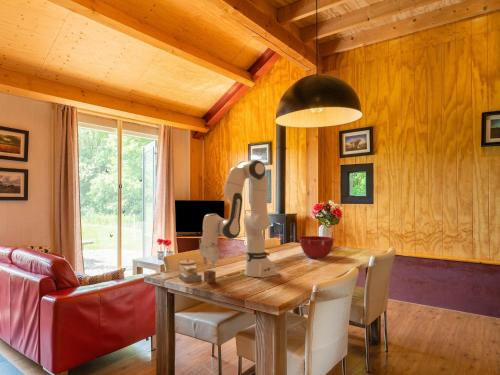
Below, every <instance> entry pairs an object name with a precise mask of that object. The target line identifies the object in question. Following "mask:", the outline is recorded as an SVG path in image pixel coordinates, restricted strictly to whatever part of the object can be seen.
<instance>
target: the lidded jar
mask: <svg viewBox="0 0 500 375" xmlns="http://www.w3.org/2000/svg"><path fill="white" fill-rule="evenodd" d="M187 266H195V267H197V260H194V259H189V258H186V259H184V260H180V261H179V262H178V268H179V272H180V273H184V267H187Z"/></svg>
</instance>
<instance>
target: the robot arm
mask: <svg viewBox="0 0 500 375" xmlns="http://www.w3.org/2000/svg"><path fill="white" fill-rule="evenodd" d="M247 179H249V180H250V188H249V198H248V202H249V207H250V211H249V212H247V213H246V214H245V215H244V217H243V224H244V227H245V228H244V229H245V233H246V234H245V235H246V255H245V258H246V263H245V269H244V272H243V273H244V274H243V275H244V276H246V277H251V278H252V277H253V278H268V277H271V276H276V275H280V271H279V270H276V264H275V263H274V261H272V260H270V258H268V257H269V256H270V255H271V253H270V252H266V250H265V249H266V248H265V246H266V245H265V242H266V241H265V236H264V233H263V231H265V230H267V229H268V228H269V227H270V223H271V220H270V218H269V214H268V207H267V206H268V204H267V202H268V190H269V188H268V186H269V185H268V177H267V175H266V168H265V164H264V162H262V161H261V160H257V159H253V160H252V159H251V160H250V159H249V160H248V159H247V160H245V161H241V162H239V163H237V165H236V166H233V167H231V169H230V170H229V172H228V174H227V177H226V180H225V183H224V188H223V193H224V196H225V197H226V199H228V200H229V204H230V209H229V217H228V219H227V218H226V219H225V218H223V217H221V216H220V215H218V213H207V214H205V215H204V217H203V220H202V235H201V236H202V237H201V238H200V239H198V240H199V241H198V243H199V255H200V256H201V257H202V260H203V265H205V266H207V265H208V260H210V264H209V268H211V269H214V268H215V264H216V262H218V261H219V260H220V248H219V247H218V239H219V236H222V237H225V238H228V239H230V240H233V239H235V238H238V236H239V234H240V232H241V214H242V209H243V208H242V207H243V190H244V186H245V181H246V180H247Z"/></svg>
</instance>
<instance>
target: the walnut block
mask: <svg viewBox="0 0 500 375" xmlns="http://www.w3.org/2000/svg"><path fill="white" fill-rule="evenodd" d="M216 275H217V274H216V271H215V270H214V269H209V270H204V271H203V282H204V281H205V282H204V283H206V282H207V283H206V284H210V283H209V282H214V283H216Z"/></svg>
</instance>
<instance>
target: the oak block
mask: <svg viewBox="0 0 500 375" xmlns="http://www.w3.org/2000/svg"><path fill="white" fill-rule="evenodd" d="M197 273H198V267H197V266H196V267H195V266H187V267H184V274H185V275H187V276H190V275H197Z"/></svg>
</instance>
